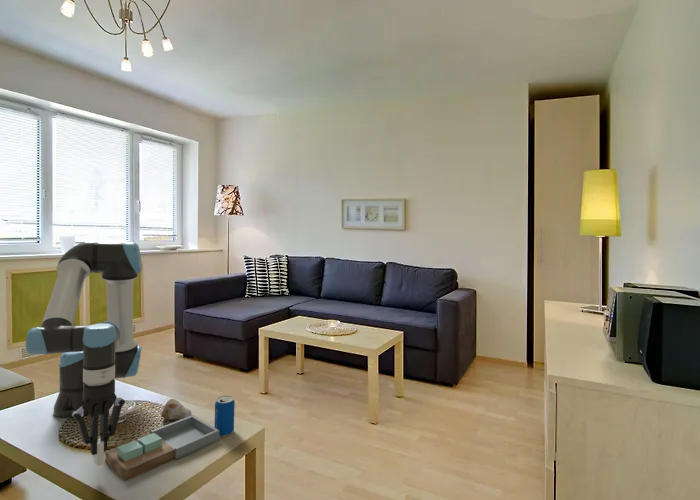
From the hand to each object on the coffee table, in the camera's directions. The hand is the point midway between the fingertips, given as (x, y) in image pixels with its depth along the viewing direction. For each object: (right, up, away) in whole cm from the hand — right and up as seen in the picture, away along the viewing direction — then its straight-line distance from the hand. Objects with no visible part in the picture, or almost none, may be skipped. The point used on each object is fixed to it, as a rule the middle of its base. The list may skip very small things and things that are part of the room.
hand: (98, 463), depth 111 cm
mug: (+7, -3, +35) cm, 36 cm away
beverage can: (+27, -4, +27) cm, 38 cm away
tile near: (+5, -1, +7) cm, 8 cm away
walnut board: (+7, -4, +9) cm, 12 cm away
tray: (+16, -4, +21) cm, 26 cm away
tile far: (+9, -1, +11) cm, 14 cm away
